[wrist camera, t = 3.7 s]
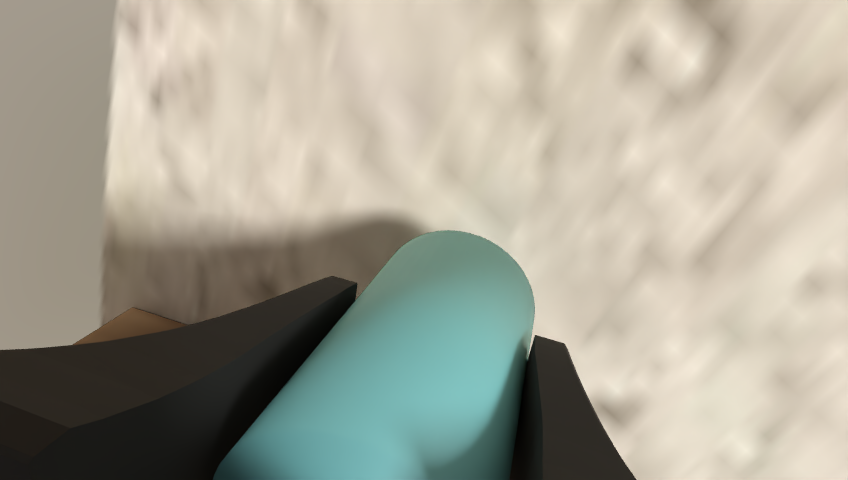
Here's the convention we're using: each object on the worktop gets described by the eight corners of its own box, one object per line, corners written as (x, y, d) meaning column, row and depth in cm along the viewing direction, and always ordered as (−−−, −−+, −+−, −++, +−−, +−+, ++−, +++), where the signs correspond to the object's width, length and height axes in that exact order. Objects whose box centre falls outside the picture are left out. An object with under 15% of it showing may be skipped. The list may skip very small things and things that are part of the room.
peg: (565, 336, 13) (553, 635, 6) (435, 390, 14) (324, 670, 8) (477, 200, 12) (366, 385, 6) (351, 274, 14) (159, 480, 7)
